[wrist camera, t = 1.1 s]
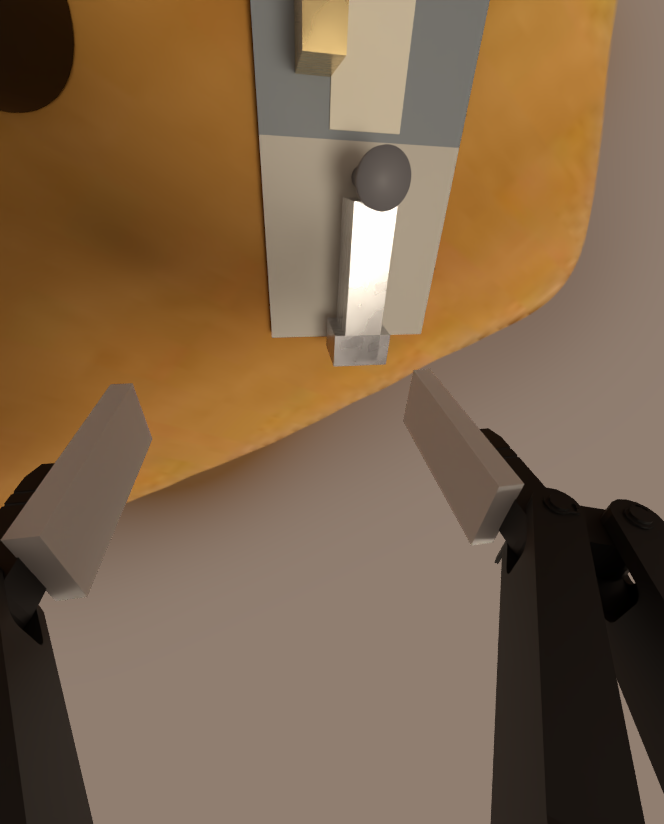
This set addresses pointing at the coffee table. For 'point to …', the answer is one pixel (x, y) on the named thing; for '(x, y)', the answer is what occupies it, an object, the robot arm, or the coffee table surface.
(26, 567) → the robot arm
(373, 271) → the bar
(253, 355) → the coffee table surface
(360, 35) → the door board
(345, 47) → the block
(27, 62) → the mug
